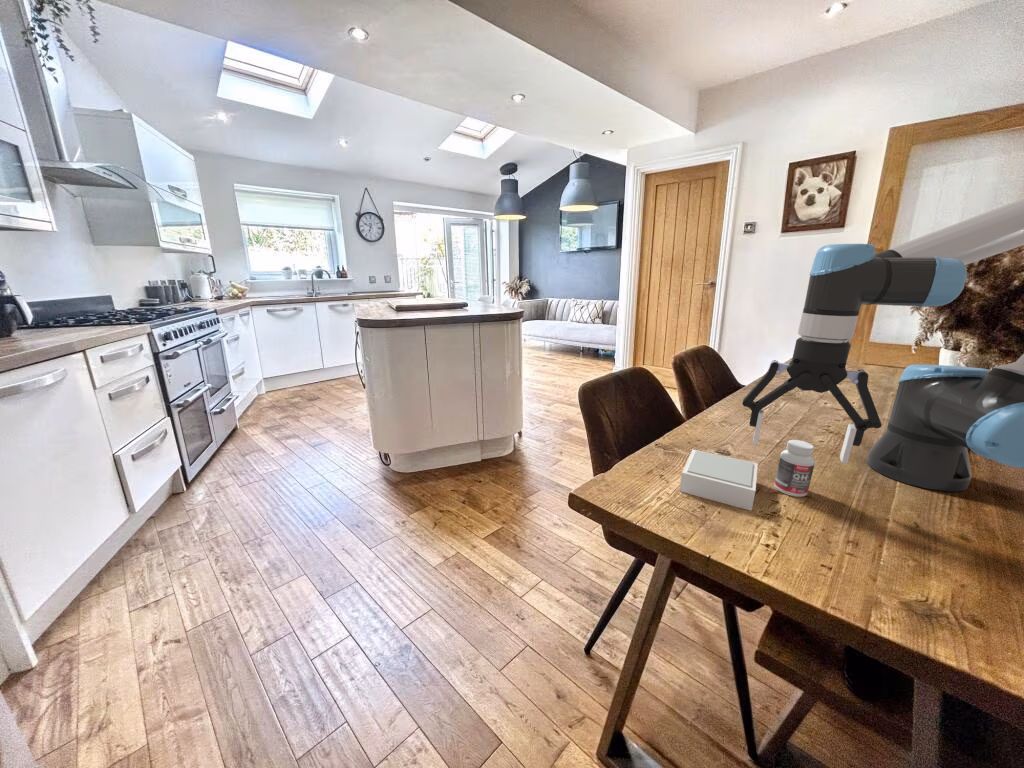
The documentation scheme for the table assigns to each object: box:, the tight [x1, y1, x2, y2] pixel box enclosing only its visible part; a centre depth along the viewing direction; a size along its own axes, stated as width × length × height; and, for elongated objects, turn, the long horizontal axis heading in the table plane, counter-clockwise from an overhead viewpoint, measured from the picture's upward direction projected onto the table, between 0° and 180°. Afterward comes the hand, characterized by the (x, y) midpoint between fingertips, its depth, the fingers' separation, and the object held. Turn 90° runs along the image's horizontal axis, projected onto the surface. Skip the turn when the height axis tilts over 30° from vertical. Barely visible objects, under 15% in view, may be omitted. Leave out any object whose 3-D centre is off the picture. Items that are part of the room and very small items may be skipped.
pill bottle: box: [773, 439, 816, 498], centre depth 74 cm, size 5×5×10 cm
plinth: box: [679, 448, 759, 511], centre depth 76 cm, size 12×12×4 cm
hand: (797, 451), depth 73 cm, fingers open, 13 cm apart
